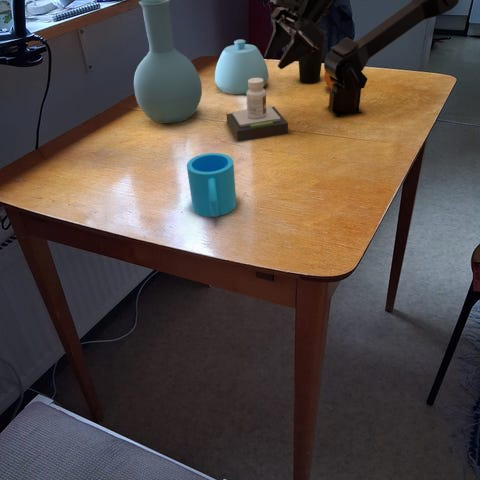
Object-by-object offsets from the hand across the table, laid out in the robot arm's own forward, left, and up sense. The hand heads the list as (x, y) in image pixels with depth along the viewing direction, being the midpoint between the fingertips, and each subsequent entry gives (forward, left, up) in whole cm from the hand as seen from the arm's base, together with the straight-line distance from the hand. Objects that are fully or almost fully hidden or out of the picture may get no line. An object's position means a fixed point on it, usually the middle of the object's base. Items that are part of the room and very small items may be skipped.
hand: (272, 62), depth 105 cm
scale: (+4, +1, -14) cm, 14 cm away
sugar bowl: (0, -29, -14) cm, 32 cm away
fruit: (-24, -16, -14) cm, 32 cm away
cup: (-19, -26, -14) cm, 35 cm away
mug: (+21, +34, -14) cm, 42 cm away
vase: (+22, -15, -14) cm, 30 cm away
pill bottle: (+4, +1, -11) cm, 11 cm away
